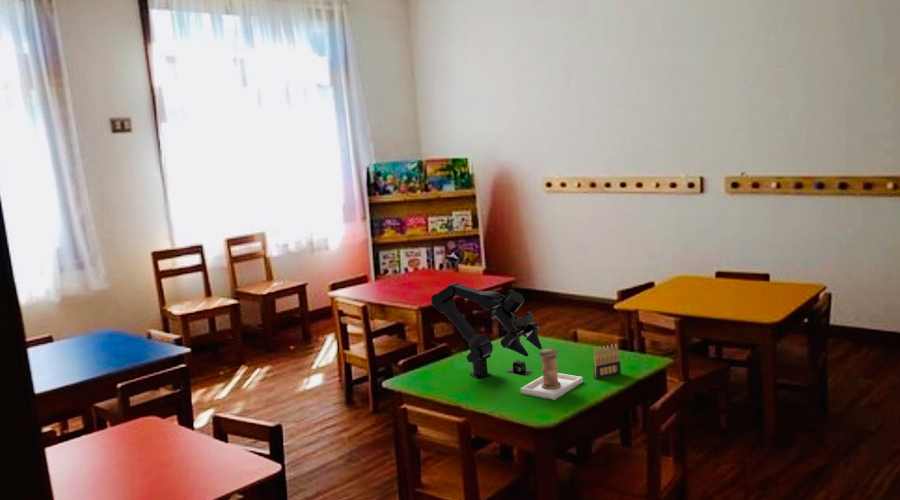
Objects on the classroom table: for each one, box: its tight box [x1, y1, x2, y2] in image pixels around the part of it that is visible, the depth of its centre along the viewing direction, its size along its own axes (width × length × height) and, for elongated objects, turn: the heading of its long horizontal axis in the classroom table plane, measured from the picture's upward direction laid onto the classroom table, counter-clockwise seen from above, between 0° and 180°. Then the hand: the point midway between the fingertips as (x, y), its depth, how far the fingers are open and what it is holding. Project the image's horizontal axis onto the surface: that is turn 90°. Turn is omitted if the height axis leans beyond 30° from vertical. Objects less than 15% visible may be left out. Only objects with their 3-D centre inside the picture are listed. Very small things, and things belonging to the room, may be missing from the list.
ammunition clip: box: [593, 342, 622, 380], centre depth 267 cm, size 11×2×12 cm, turn 111°
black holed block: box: [505, 359, 533, 376], centre depth 281 cm, size 12×7×5 cm, turn 49°
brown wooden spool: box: [538, 348, 561, 390], centre depth 260 cm, size 7×7×13 cm
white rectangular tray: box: [520, 372, 584, 401], centre depth 261 cm, size 20×14×2 cm
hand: (534, 352), depth 263 cm, fingers open, 9 cm apart
